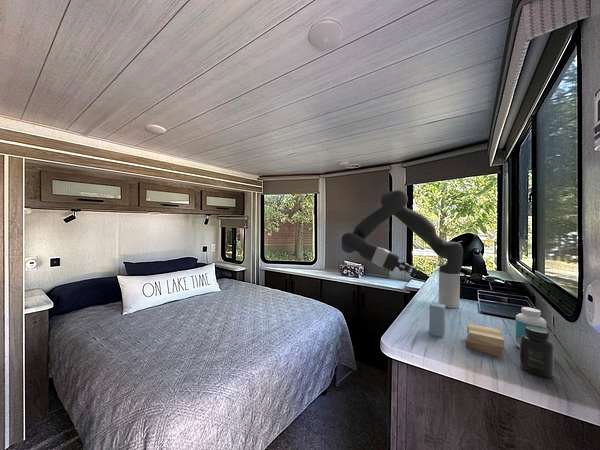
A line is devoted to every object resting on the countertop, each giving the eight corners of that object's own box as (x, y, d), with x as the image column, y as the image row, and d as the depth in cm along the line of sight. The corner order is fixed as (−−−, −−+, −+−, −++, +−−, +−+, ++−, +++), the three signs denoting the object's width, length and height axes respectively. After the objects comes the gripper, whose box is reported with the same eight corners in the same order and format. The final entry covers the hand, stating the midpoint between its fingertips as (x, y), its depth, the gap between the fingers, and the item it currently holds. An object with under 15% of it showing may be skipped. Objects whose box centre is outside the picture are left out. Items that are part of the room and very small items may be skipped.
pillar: (431, 329, 92) (432, 302, 92) (444, 333, 89) (445, 304, 89) (429, 333, 89) (429, 304, 89) (442, 337, 86) (443, 307, 86)
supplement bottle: (560, 377, 64) (561, 334, 64) (540, 380, 63) (541, 335, 63) (531, 363, 71) (532, 323, 71) (513, 364, 70) (514, 324, 70)
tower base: (468, 339, 86) (468, 331, 86) (500, 347, 80) (500, 339, 80) (465, 348, 80) (466, 339, 80) (500, 359, 74) (500, 349, 74)
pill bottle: (549, 358, 74) (550, 315, 74) (517, 350, 78) (518, 310, 78) (542, 347, 80) (543, 308, 80) (513, 341, 84) (514, 304, 84)
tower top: (467, 331, 86) (467, 323, 86) (498, 338, 81) (498, 329, 81) (469, 341, 79) (469, 332, 78) (504, 349, 74) (504, 340, 74)
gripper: (388, 249, 92) (432, 268, 86) (388, 251, 105) (426, 267, 99) (380, 267, 92) (423, 287, 86) (382, 266, 105) (419, 283, 99)
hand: (425, 276), depth 92 cm, fingers open, 8 cm apart
